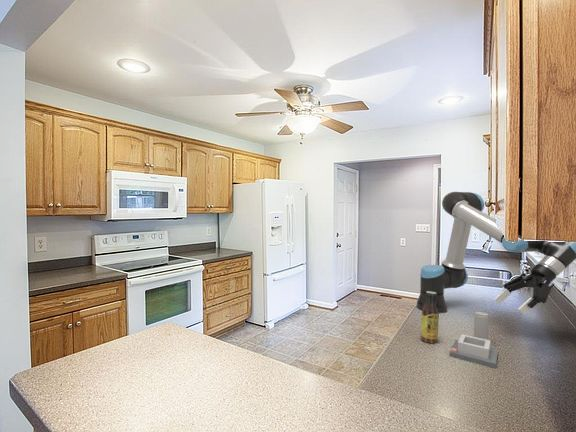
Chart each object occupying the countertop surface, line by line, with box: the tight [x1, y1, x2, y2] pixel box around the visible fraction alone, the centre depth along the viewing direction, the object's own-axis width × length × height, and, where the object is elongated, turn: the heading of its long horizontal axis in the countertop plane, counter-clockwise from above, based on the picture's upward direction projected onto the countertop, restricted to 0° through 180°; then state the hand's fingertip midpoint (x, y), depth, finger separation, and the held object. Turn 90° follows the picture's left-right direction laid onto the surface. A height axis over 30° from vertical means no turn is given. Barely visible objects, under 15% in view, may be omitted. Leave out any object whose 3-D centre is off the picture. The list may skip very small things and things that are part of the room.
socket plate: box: [449, 334, 499, 369], centre depth 114 cm, size 14×14×5 cm
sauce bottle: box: [420, 291, 440, 344], centre depth 126 cm, size 6×6×20 cm
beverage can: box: [473, 311, 490, 340], centre depth 124 cm, size 5×5×12 cm
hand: (508, 306), depth 124 cm, fingers open, 13 cm apart
